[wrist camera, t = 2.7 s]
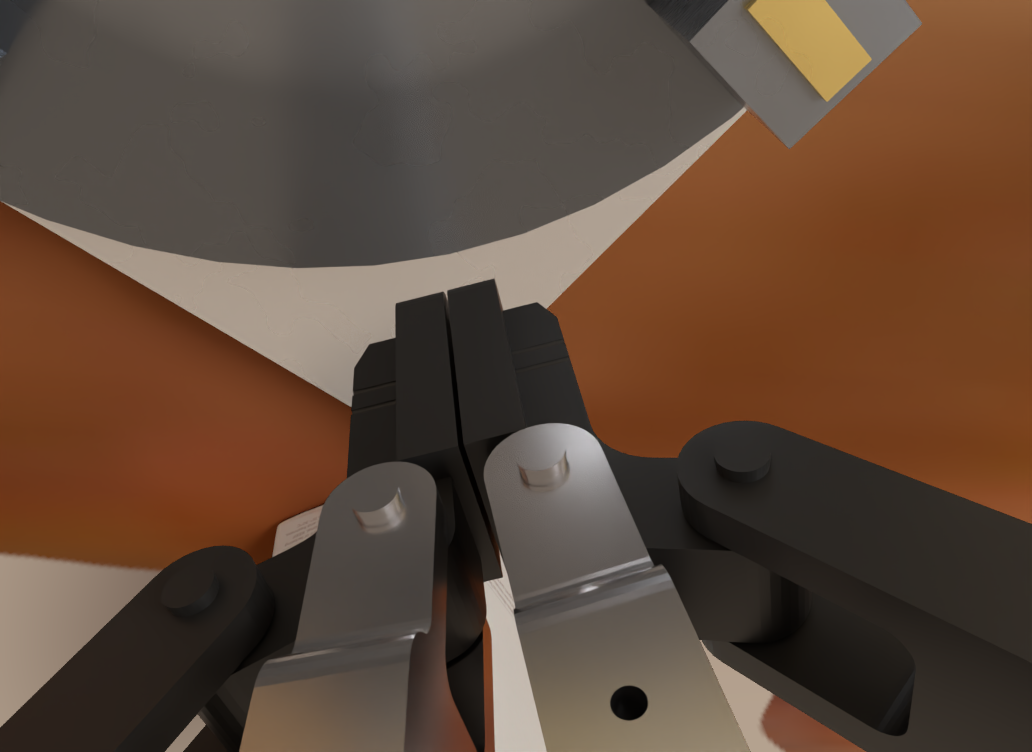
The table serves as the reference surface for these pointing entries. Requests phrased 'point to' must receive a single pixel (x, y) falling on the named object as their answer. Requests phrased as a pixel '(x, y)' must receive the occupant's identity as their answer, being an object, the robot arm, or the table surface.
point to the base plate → (376, 281)
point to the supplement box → (512, 691)
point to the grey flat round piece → (392, 112)
